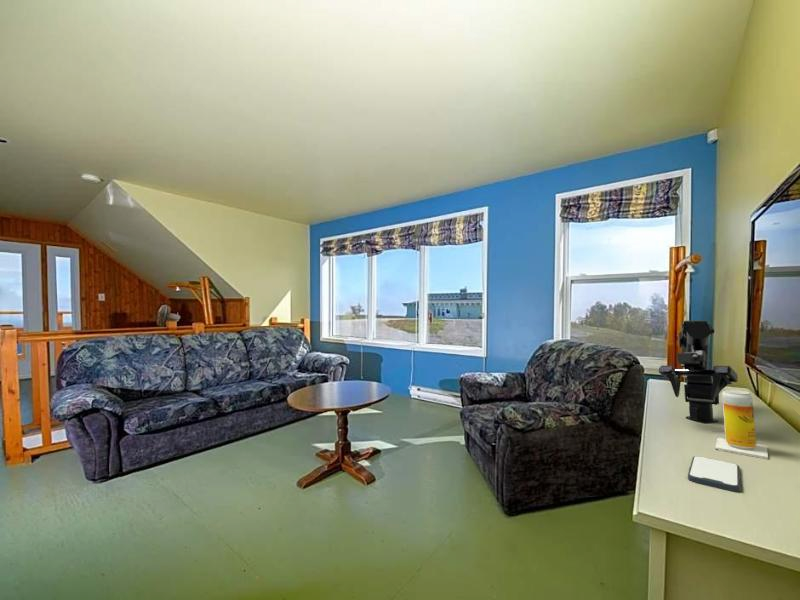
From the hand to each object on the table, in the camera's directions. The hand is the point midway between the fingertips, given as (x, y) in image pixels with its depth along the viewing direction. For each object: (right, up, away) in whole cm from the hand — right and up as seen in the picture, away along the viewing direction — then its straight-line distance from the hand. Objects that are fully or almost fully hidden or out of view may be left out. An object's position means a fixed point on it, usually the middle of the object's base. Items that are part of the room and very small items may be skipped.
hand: (694, 397), depth 108 cm
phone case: (-18, -11, -26) cm, 34 cm away
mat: (+2, -11, -13) cm, 17 cm away
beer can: (+2, -10, -13) cm, 16 cm away
